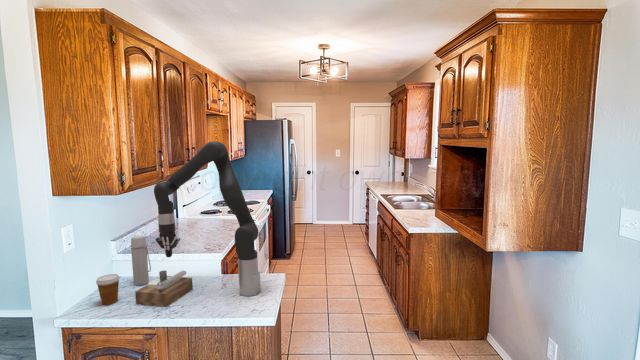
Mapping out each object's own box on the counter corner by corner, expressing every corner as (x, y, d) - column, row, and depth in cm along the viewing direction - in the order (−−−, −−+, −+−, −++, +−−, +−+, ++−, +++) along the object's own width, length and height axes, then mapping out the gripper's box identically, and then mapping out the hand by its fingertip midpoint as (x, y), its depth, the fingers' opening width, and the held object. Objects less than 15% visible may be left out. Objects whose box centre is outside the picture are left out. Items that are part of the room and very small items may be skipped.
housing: (192, 289, 180) (191, 274, 179) (166, 307, 160) (165, 290, 160) (165, 287, 184) (164, 273, 183) (136, 304, 164) (134, 288, 164)
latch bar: (186, 274, 179) (186, 269, 179) (160, 289, 160) (160, 284, 160) (182, 274, 180) (182, 269, 179) (156, 289, 161) (155, 284, 161)
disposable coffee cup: (94, 308, 161) (92, 282, 160) (101, 299, 170) (99, 275, 169) (118, 305, 164) (116, 279, 163) (123, 296, 173) (121, 272, 172)
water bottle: (138, 287, 185) (135, 239, 182) (130, 284, 189) (126, 237, 187) (155, 281, 192) (152, 235, 190) (147, 278, 197) (143, 233, 194)
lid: (179, 280, 176) (178, 268, 175) (165, 288, 166) (165, 275, 165) (161, 279, 178) (160, 267, 178) (147, 287, 168) (146, 274, 168)
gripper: (183, 221, 178) (185, 255, 180) (160, 220, 181) (162, 253, 183) (173, 224, 171) (175, 260, 172) (149, 223, 174) (152, 258, 175)
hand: (169, 256), depth 177 cm, fingers closed
